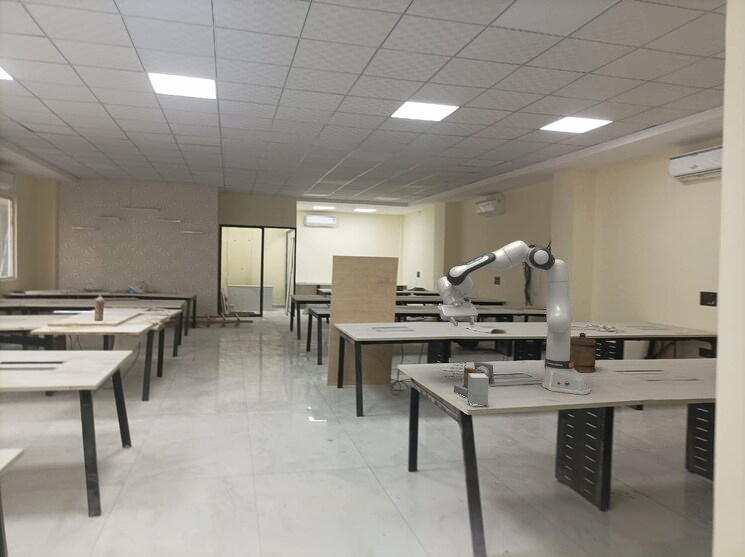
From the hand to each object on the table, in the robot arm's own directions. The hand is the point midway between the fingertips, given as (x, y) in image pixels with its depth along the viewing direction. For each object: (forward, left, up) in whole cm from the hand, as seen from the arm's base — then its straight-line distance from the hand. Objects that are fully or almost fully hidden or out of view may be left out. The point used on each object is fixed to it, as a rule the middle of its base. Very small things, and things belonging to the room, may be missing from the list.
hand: (464, 325), depth 234 cm
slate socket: (-8, +11, -30) cm, 33 cm away
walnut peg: (-8, +11, -30) cm, 33 cm away
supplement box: (-17, +23, -31) cm, 42 cm away
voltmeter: (+2, -12, -31) cm, 33 cm away
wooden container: (-40, -80, -31) cm, 95 cm away
